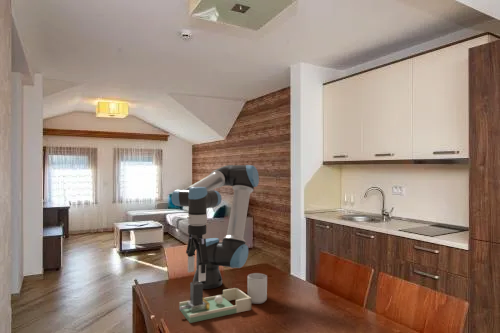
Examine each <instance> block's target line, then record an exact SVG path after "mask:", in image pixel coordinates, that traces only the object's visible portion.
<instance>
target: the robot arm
mask: <svg viewBox="0 0 500 333" xmlns="http://www.w3.org/2000/svg"><path fill="white" fill-rule="evenodd" d="M259 183H260V177H259V171H258V168H256V166H255V165H253V164H252V165H250V164H241V165H240V164H228V165H225V166H221V167H219V168H216V169H215V170H212V171H211V172H210V174H209V175H207V176H205V177H204V178H202V179H201V180H198V181H196V182H195V183H193V184H191V185H190V186H188V187H186V188H184V189H175V190H173V191H172V193H171V196H170V197H171V202H172V205H174V206H176V207H177V206H178V207H187V208H188V212H187V213H188V214H187V215H188V216H187V218H186V219H187V220H188V221H187V223H188V226H187V234H188V241H187V245H186V249H185V250H186V251H185V254H186V255H187V273H193V272H194V276H193V279H192V282H196V281H199V282H201V283H203V290H211V289H212V290H213V289H216V288H219V287H221V286H222V285H223V278H222V274H221V271H220V267H225V268H226V267H227V268H232V269H241V268H242V267H244V265H245V264H246V262H247V259H248V257H249V246H248V245H247V244H246V242H247V241H246V240H245V239H244V236H245V230H246V229H245V228H246V222H247V215H248V209H249V203H250V198H251V197H250V196H251V193H253V192H254V189H255V188H257V187H258V186H259ZM226 186H227V187H231V188H232V190H233V195H232V202H231V203H232V204H231V208H230V212H229V213H230V214H229V220H228V225H227V226H228V227H227V231H226V232H227V233H226V235H225V236H224V237H223V238H222V241H220V238H217V237H212V238H210V237H209V238H203V235H206V234H207V223H208V222H207V221H208V220H207V219H208V217H207V216H208V213H207V212H208V209H213V208H217V207H218V206H220V204H222V199H223V198H222V195H221V193H220V192H219V191H217V190H215V189H217V188H218V189H220V188H221V187H226ZM195 256H196V257H195ZM195 258H196V261H195ZM195 262H196V263H195ZM195 264H196V265H195ZM195 266H196V269H195Z"/></svg>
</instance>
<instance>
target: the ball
mask: <svg viewBox="0 0 500 333" xmlns="http://www.w3.org/2000/svg"><path fill="white" fill-rule="evenodd" d="M215 296H216V297H215V303H216V304H218V305H219V304H221V303H222V302H223V298H222V296H217V295H215Z"/></svg>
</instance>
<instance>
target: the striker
mask: <svg viewBox="0 0 500 333" xmlns="http://www.w3.org/2000/svg"><path fill="white" fill-rule="evenodd" d="M189 286H190V288H189V290H190V293H189V296H190V298H189V300H186V301H187V305H185V306H180V307H178V308H179V309H178V310H179V311H180V310H184V309H189V310H190V311H191V312H195V311H200V310H205V309H206V310H209V308H210V303H209V302H208V301H206V300H205V299H204V298H205V297H203V296H204V295H203V293H204V289H203V283H201V282H199V281H196V282H193V281H191V282H190V284H189Z"/></svg>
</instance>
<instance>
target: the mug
mask: <svg viewBox="0 0 500 333" xmlns="http://www.w3.org/2000/svg"><path fill="white" fill-rule="evenodd" d="M246 282H247V286H246V288H247V290H246V291H247V292H246V293H247V295H248V296H249V297H251V304H256V305H257V304H258V305H260V304H263V303H265V302H266V301H267V299H268V293H267V292H268V275H267V274H265V273H260V272H253V273H249V274H248V275H247V281H246Z"/></svg>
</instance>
